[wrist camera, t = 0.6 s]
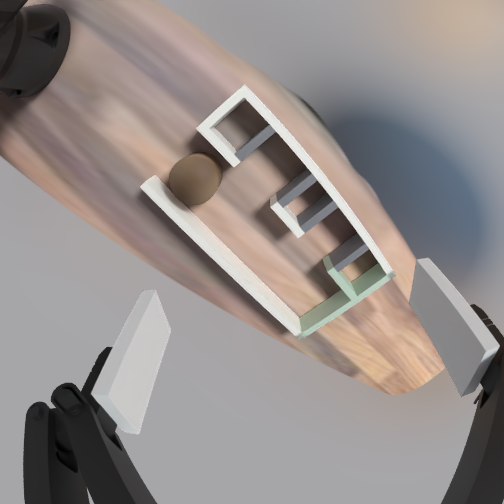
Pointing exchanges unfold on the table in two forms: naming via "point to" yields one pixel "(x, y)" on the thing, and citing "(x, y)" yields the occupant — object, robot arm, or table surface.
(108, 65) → the table surface
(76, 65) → the table surface
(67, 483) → the robot arm
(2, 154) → the table surface
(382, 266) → the box
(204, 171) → the brown rounded cylinder
